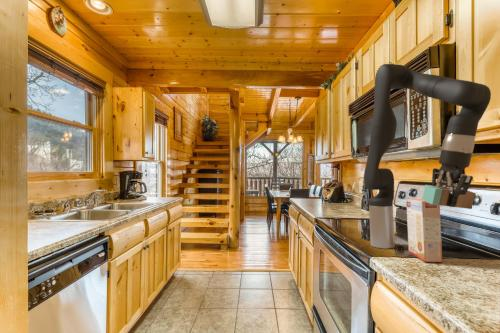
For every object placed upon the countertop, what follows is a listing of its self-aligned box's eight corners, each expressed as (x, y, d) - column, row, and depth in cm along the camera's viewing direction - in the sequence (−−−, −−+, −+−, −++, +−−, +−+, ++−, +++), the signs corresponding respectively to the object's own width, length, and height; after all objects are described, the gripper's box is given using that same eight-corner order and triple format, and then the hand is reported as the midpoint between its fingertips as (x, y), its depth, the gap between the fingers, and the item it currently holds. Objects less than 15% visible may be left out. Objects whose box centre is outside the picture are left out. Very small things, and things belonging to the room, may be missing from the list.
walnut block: (459, 204, 85) (422, 199, 85) (462, 189, 84) (425, 184, 84) (471, 209, 80) (432, 204, 80) (475, 193, 79) (435, 188, 79)
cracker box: (444, 263, 88) (440, 201, 89) (424, 262, 89) (420, 201, 90) (425, 252, 102) (422, 198, 103) (408, 251, 103) (405, 198, 104)
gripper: (429, 147, 87) (418, 196, 89) (462, 150, 73) (448, 209, 75) (451, 149, 87) (440, 199, 89) (489, 154, 72) (474, 212, 75)
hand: (444, 203), depth 82 cm, fingers closed on walnut block, 5 cm apart
